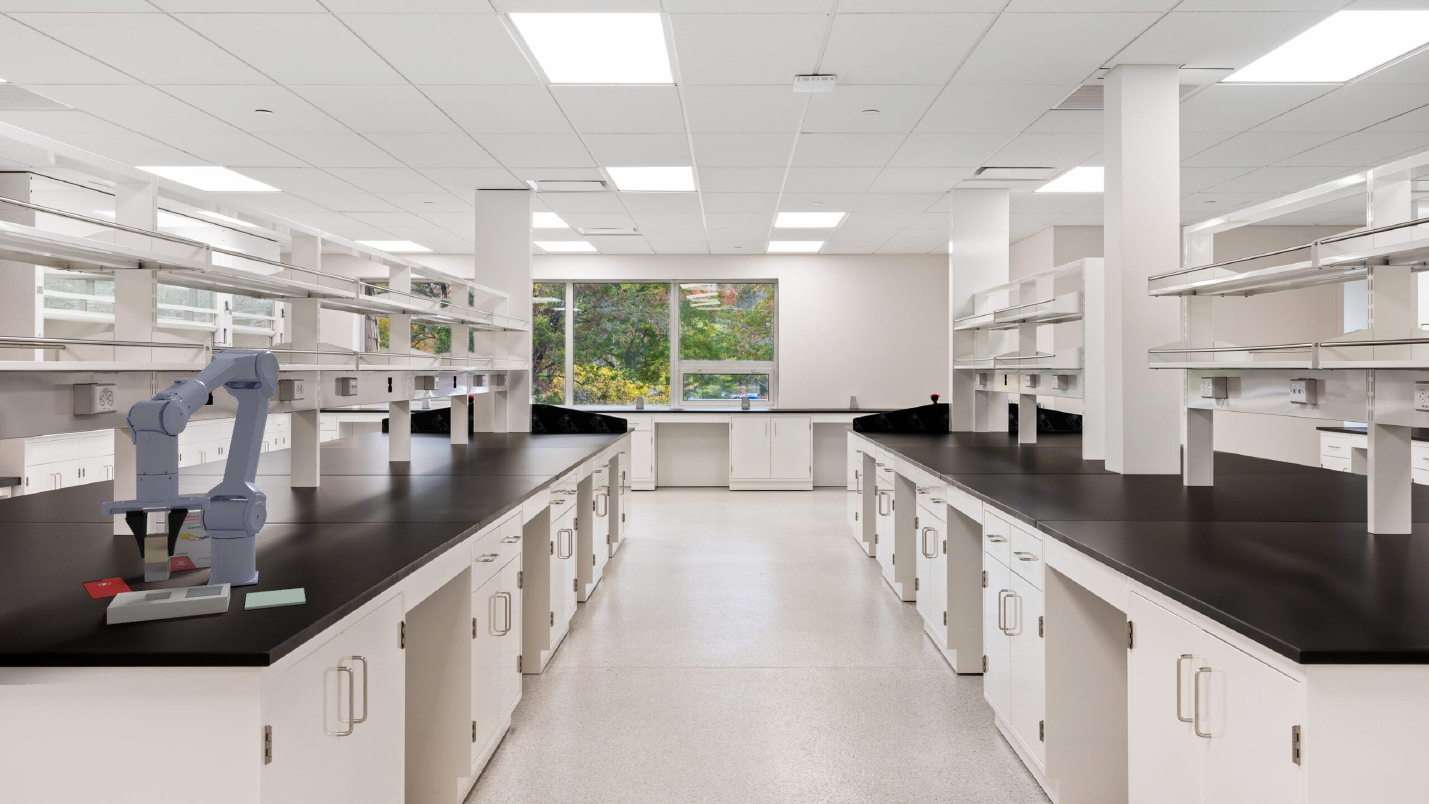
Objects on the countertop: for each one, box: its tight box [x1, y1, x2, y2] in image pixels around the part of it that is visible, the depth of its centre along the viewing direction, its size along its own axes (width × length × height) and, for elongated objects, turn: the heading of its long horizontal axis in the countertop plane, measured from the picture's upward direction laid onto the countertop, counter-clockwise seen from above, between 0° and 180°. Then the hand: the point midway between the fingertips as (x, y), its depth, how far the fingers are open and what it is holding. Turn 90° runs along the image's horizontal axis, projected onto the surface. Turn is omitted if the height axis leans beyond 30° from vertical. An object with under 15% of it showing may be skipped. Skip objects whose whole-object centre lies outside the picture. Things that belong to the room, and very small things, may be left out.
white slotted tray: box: [106, 583, 231, 625], centre depth 134 cm, size 10×16×3 cm, turn 118°
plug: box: [144, 532, 171, 583], centre depth 133 cm, size 4×3×7 cm, turn 28°
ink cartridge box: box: [164, 492, 211, 572], centre depth 165 cm, size 9×5×15 cm, turn 137°
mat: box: [244, 587, 306, 611], centre depth 141 cm, size 10×9×1 cm
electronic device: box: [81, 576, 134, 600], centre depth 148 cm, size 6×1×15 cm
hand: (157, 556), depth 133 cm, fingers closed on plug, 3 cm apart
